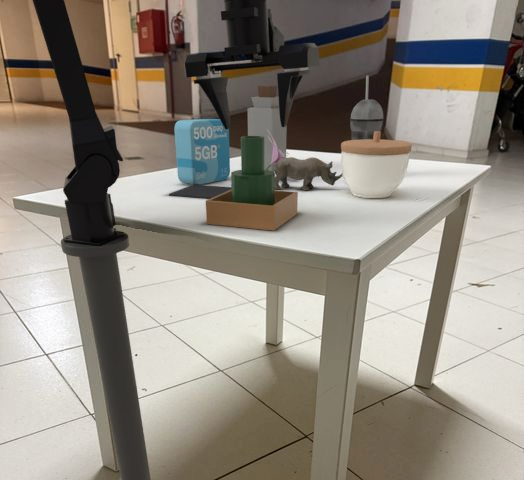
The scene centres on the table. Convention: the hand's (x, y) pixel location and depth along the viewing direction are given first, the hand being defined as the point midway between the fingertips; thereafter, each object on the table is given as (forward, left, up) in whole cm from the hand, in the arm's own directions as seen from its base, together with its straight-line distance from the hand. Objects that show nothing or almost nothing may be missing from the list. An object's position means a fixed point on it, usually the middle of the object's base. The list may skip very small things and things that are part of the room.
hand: (255, 128), depth 74 cm
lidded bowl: (+23, -14, -13) cm, 30 cm away
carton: (-2, 0, -13) cm, 13 cm away
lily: (+33, +8, -13) cm, 36 cm away
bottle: (-2, 0, -13) cm, 13 cm away
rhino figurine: (+24, -1, -13) cm, 28 cm away
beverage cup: (+44, -8, -13) cm, 47 cm away
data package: (+24, +22, -13) cm, 35 cm away
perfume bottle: (+46, +16, -13) cm, 51 cm away
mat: (+14, +17, -13) cm, 26 cm away
